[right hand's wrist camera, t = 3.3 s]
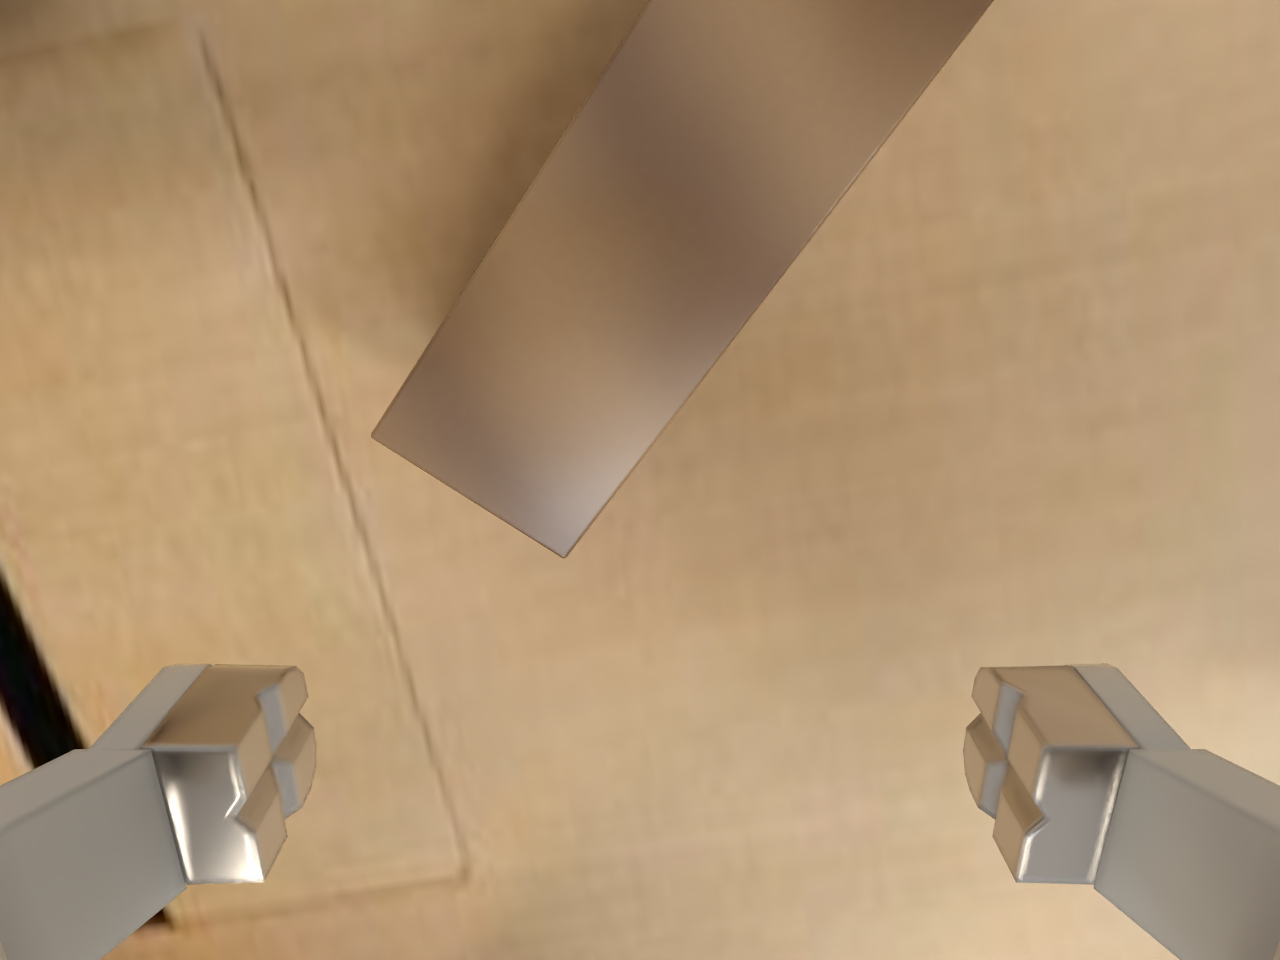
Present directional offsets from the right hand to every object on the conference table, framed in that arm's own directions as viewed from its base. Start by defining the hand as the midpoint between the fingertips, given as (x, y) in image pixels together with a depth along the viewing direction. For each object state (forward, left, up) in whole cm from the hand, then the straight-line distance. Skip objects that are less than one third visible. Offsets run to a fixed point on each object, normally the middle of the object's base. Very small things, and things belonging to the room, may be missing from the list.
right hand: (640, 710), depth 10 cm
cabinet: (+5, +4, -19) cm, 20 cm away
